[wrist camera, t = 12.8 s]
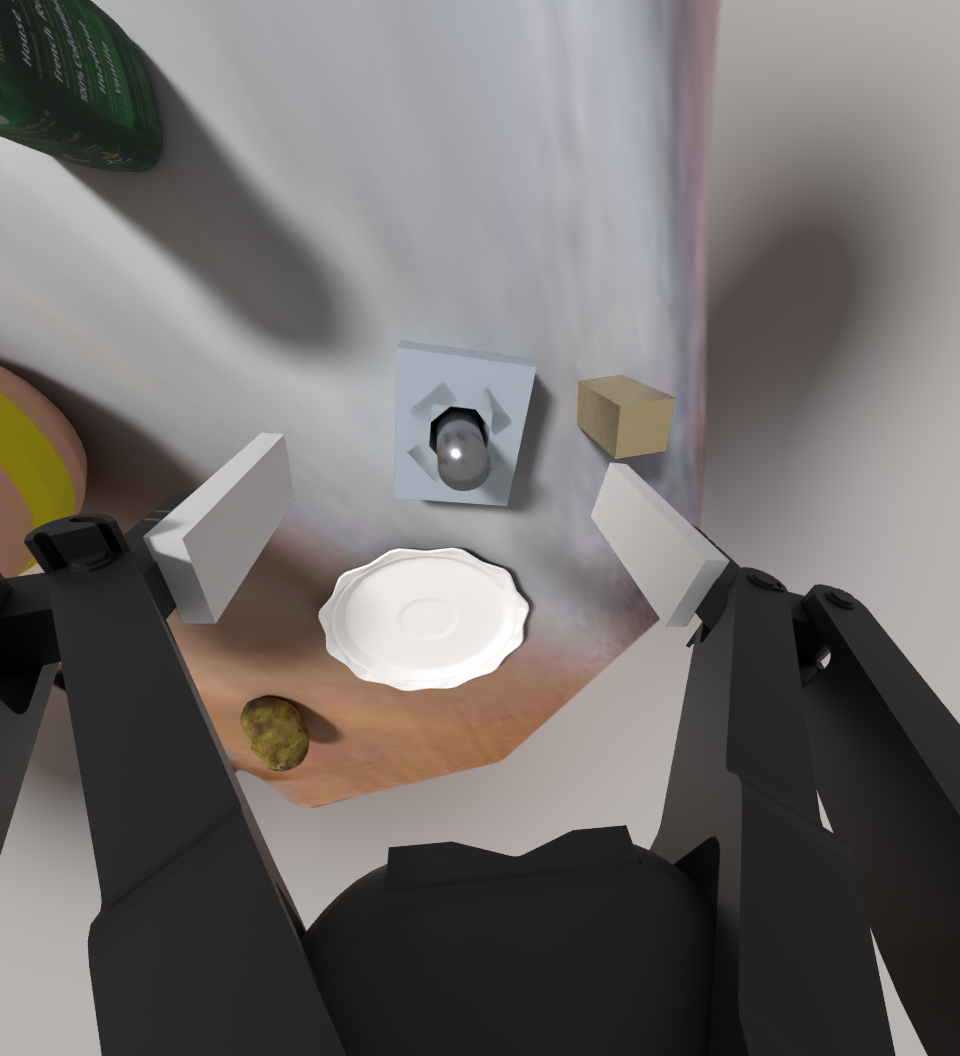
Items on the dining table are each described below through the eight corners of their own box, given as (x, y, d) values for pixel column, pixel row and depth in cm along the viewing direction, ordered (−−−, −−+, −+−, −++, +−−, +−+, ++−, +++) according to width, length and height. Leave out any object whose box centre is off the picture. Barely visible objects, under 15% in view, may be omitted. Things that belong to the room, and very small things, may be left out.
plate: (512, 672, 64) (514, 684, 62) (340, 683, 60) (337, 696, 58) (537, 536, 48) (541, 547, 46) (306, 538, 44) (300, 550, 42)
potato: (295, 684, 59) (277, 734, 52) (321, 725, 66) (309, 774, 59) (243, 692, 58) (219, 744, 52) (275, 733, 66) (258, 783, 59)
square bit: (578, 381, 37) (620, 406, 29) (621, 374, 38) (675, 397, 29) (576, 424, 40) (615, 459, 32) (617, 418, 40) (665, 451, 32)
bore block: (400, 340, 34) (396, 347, 29) (524, 358, 36) (536, 367, 31) (397, 476, 41) (393, 497, 37) (499, 485, 43) (507, 506, 39)
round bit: (437, 399, 37) (440, 438, 27) (478, 404, 38) (494, 444, 28) (434, 439, 39) (435, 489, 29) (472, 443, 40) (486, 493, 30)
